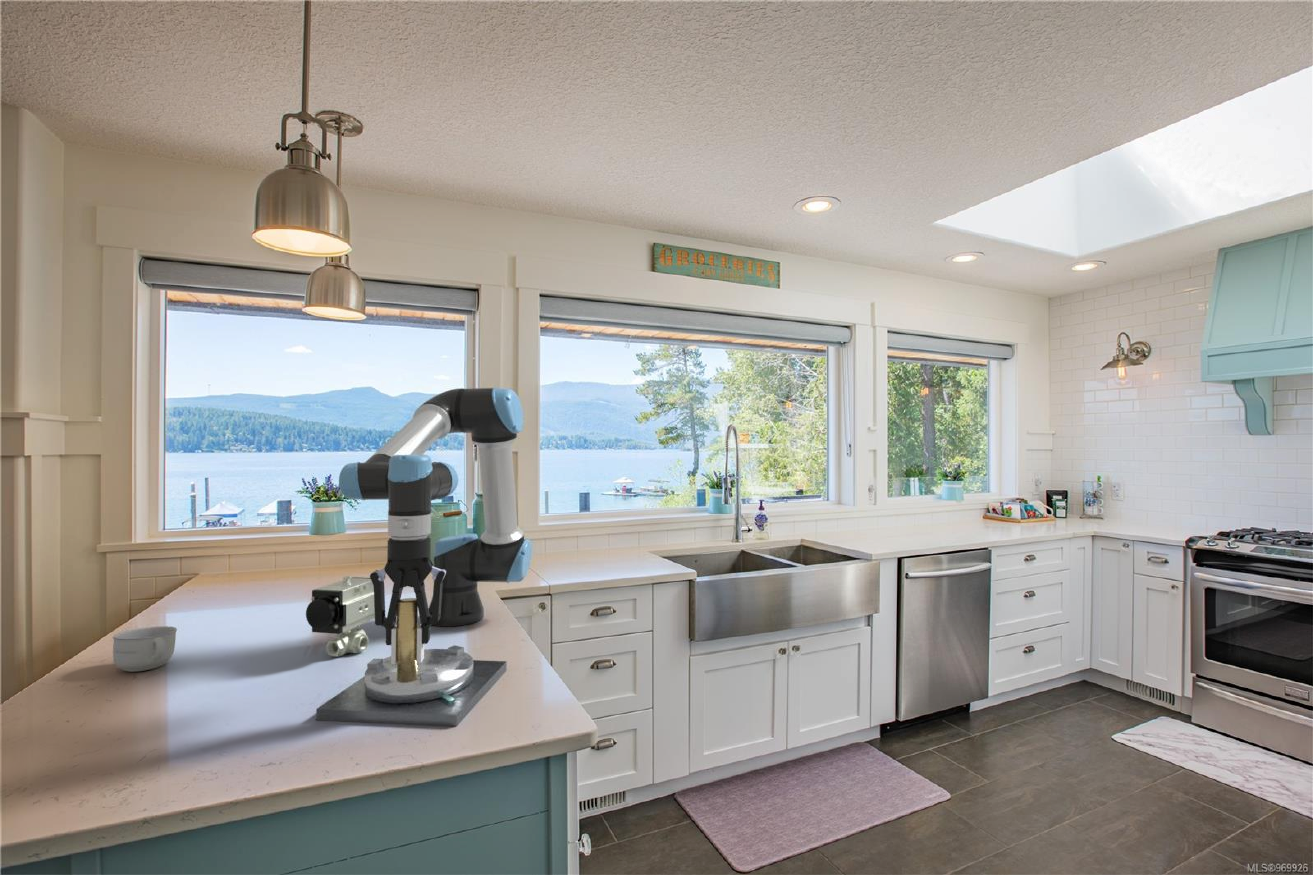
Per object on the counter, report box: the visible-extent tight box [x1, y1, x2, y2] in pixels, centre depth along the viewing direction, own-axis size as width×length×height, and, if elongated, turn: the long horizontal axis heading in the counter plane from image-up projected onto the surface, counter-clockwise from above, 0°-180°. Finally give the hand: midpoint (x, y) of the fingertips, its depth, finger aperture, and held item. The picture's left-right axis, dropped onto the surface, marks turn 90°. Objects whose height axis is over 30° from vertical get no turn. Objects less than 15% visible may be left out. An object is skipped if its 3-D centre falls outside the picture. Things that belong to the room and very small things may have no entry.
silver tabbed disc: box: [364, 597, 474, 703], centre depth 122 cm, size 20×20×18 cm
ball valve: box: [305, 575, 375, 657], centre depth 145 cm, size 18×8×18 cm, turn 168°
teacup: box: [112, 625, 178, 673], centre depth 135 cm, size 14×11×8 cm
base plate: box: [315, 659, 508, 727], centre depth 122 cm, size 26×26×3 cm
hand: (407, 661), depth 115 cm, fingers open, 4 cm apart
